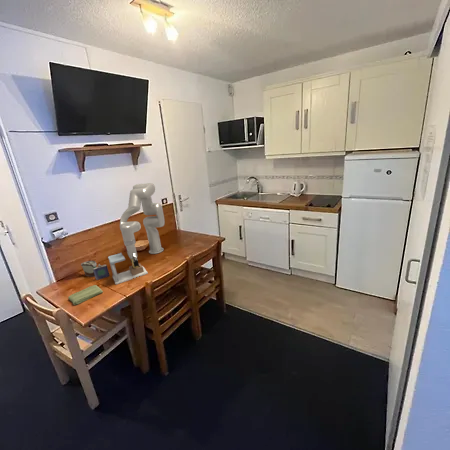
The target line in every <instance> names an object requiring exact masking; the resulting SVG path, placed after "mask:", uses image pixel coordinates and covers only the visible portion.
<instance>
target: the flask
mask: <svg viewBox="0 0 450 450" xmlns="http://www.w3.org/2000/svg"><path fill="white" fill-rule="evenodd" d="M93 271H94V275H95V277H94V278H95V280H96V281H99V280H102V279H105V278H109V277H110V276H111V275H110V273H109V268H108V265H107V264H103V265H101V264H100V263H99V264H97V266H96V268H94V269H93Z"/></svg>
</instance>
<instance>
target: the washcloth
mask: <svg viewBox="0 0 450 450" xmlns="http://www.w3.org/2000/svg"><path fill="white" fill-rule="evenodd" d="M102 293H104V291H103V289H102V288H100V287H99V286H98V285H97V284H93V285H90V286H88V287H86V288H84V289H81V290H80V291H76V292H75V293H72V294H70V295H69V296H68V298H67V299H68V300H69V301H70V302H71V303H72V305H74V306H78V305H80V304H82V303H84V302H86V301H88V300H90V299H92V298H95V297H96V296H98V295H101V294H102Z"/></svg>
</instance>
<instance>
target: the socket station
mask: <svg viewBox="0 0 450 450" xmlns="http://www.w3.org/2000/svg"><path fill="white" fill-rule="evenodd" d="M107 259H108V261H109V265H110V269H111V272H112V273H111V274H112V279H113V282H114V284H115V285H120V284H122V283H125V282H128V281H130V280H134V279H136V277H137V278H140V277H143V276H145V275H148V274H149V273H148V271H147V270H146V268H145V267H144V265H142V264H141V262H138V263H139V266H138V268H135V269H133V265H130V266H128V267H129V268H128V270H126V271H125V270H124V271H122V272H120V273H119V272H117V269H116V265H115V264H116V263H121V262H123V261H126V258H125V256H124V255H123V253H122V252H119V253H117V254H112V255H109V256H108V257H107ZM139 276H140V277H139ZM133 278H134V279H133Z"/></svg>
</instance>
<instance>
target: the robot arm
mask: <svg viewBox="0 0 450 450" xmlns="http://www.w3.org/2000/svg"><path fill="white" fill-rule="evenodd" d="M155 192H156V186H155V185H154V183H151V182H149V183H148V182H147V183H137V184H134V185H133V186H132V189H131V190H130V192H129V199H128V206H127V208H126V209H125V211H124V212H123V213H122V214H121V216H120V221H119V230H120V231H121V236H122V240H123V244H124V246H125V248H126V253H127V256H128V257H129V259H130V263H132V260H131V259H133V261H134V262H133V263H134V267H136V266H139V263H140V262H139V260H138V252H137V248H136V246H135V245H136V238H135V233H136V232H139V231H140V230H141V227H142V226H141V225H142V224H143V226H144V229H145V232H146V236H147V240H148V244H149V245H148V246H149V250H148V253H149V254H150V255H157V254H159V253H162V252H164V249H165V248H164V247H162V243H161V238H160V234H159V233H160V232H159V230H158V229H157V228H163V227H164V226H165V222H166V221H165V216H164V215H165V214H164V210H163V206H162V204H161V203H159V202H154V203H153V199H152V196H153V195H154V194H155ZM141 206H142V207H141ZM141 208H142V211H143V215H145V216H146V217H144V218H143V221H142V224H141V223H140V222H139V221H134V220H133V221H128V219H130V217H131V216H133V215H134V214H136V213H137V212H140V210H141ZM153 215H154V216H153Z"/></svg>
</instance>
